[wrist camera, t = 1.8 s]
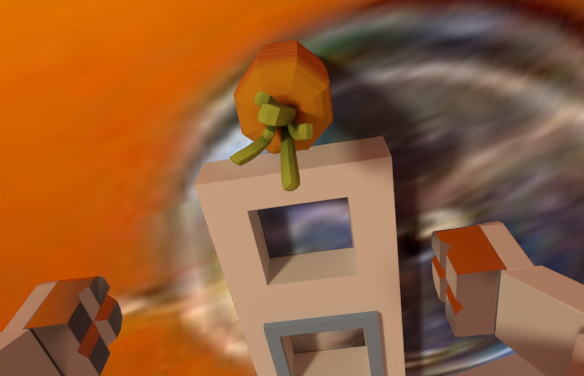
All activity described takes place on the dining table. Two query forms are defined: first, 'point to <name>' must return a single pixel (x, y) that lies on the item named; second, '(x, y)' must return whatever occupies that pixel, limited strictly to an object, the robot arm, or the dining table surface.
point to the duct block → (311, 259)
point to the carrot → (283, 105)
